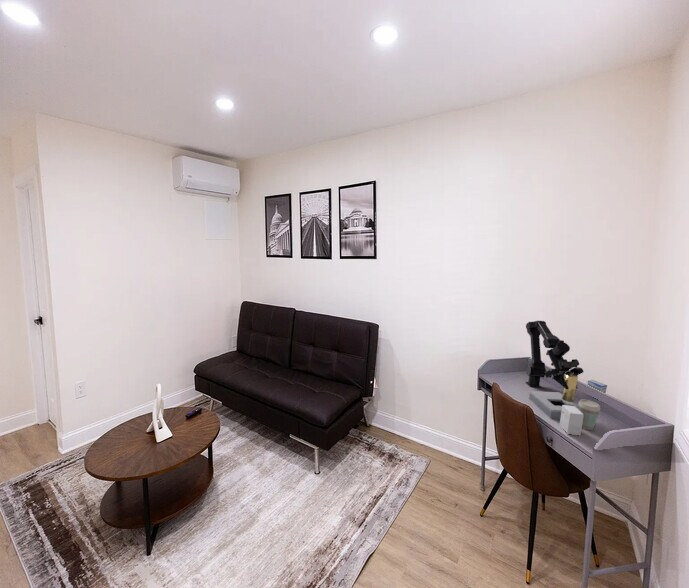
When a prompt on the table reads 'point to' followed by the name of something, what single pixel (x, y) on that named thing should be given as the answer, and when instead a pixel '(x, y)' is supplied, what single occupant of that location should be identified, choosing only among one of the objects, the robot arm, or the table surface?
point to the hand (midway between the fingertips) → (572, 388)
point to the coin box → (547, 407)
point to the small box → (571, 420)
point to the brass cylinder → (570, 388)
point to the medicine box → (597, 385)
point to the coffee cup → (589, 413)
